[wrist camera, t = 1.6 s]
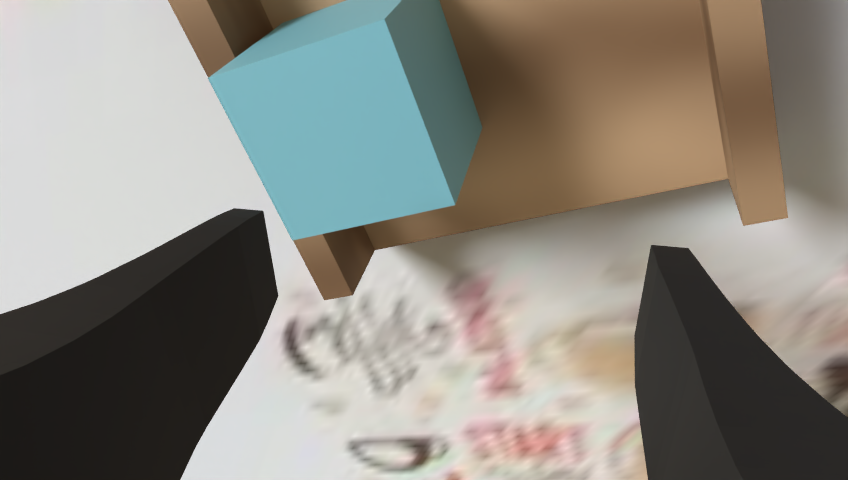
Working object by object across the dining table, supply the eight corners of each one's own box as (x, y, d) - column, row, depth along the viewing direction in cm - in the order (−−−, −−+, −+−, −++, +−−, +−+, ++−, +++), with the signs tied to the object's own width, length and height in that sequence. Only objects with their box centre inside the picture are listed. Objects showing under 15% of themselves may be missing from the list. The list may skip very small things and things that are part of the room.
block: (482, 127, 20) (455, 204, 16) (345, 162, 21) (292, 240, 18) (429, -29, 18) (383, 19, 14) (282, 22, 19) (207, 78, 16)
